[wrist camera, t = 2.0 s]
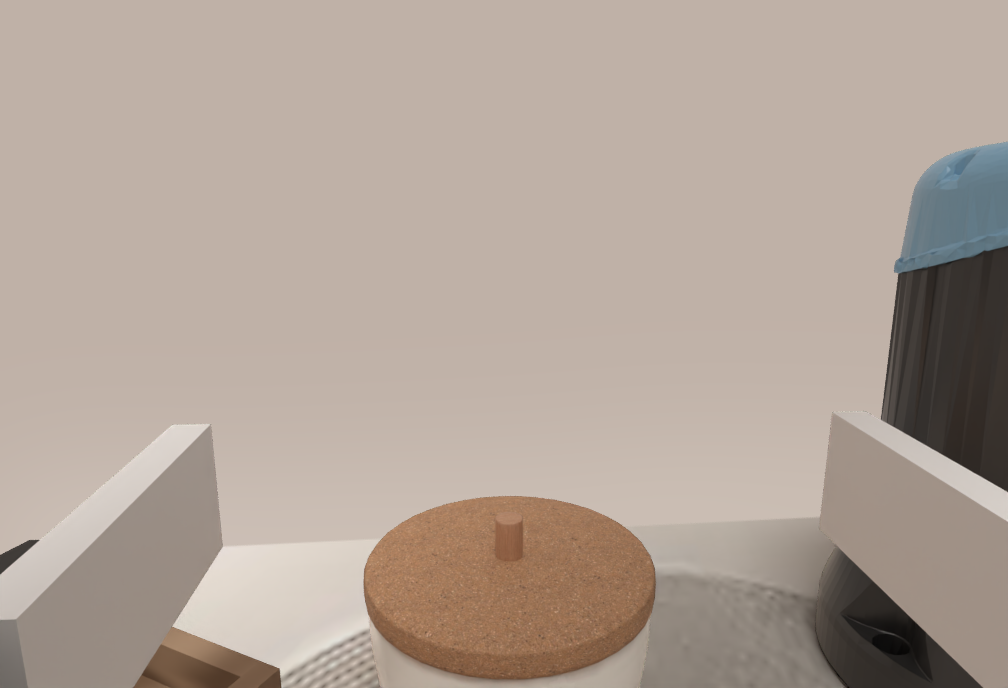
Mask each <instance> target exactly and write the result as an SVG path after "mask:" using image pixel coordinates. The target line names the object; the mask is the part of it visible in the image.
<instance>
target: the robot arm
mask: <svg viewBox="0 0 1008 688" xmlns="http://www.w3.org/2000/svg"><path fill="white" fill-rule="evenodd" d="M894 272H896V273H899V274H898V282H897V291H896V300H895V307H894V315H893V324H892V332H891V340H890V349H889V357H888V365H887V374H886V382H885V390H884V399H883V407H882V415H881V420H880V419H879V418H877V417H875V416H873V415H872V414H870V413H868V412H866V411H863V412H832V418H831V427H830V436H829V445H828V455H827V463H826V472H825V480H824V489H823V499H822V508H821V516H820V525H819V529H820V530H821V531H822V532H823V533H824V534H825V535H826V536H827V537H828V538H829V539H830V540H831V541H832V542H833V543H834V544H835V545H836V547H835V549H834V551H833V552H832V554H831V556H830V558H829V560H828V562H827V563H826V565H825V567H824V570H823V572H822V576H821V579H820V584H819V592H818V600H817V609H816V619H815V626H816V633H817V637H818V640H819V643H820V646H821V648H822V650H823V652H824V654H825V656H826V657H827V659H828V661H829V662H830V664H831V665H832V667H833V668H834V670H835V671H836V672H837V673H838V675H839V676H840V677H841V678H842V679H843V681H844V682H845V683H846V684H847V685H848V686H849V687H850V688H1008V142H1003V143H997V144H991V145H986V146H981V147H975V148H971V149H966V150H962V151H958V152H955V153H953V154H950V155H947V156H945V157H943V158H942V159H940V160H938V161H937V162H935V163H934V164H933V165H932V166H930V167H929V168H928V169H927V170H926V171H925V173H924V174H923V175H922V176H921V178H920V179H919V181H918V183H917V184H916V186H915V189H914V193H913V196H912V201H911V206H910V211H909V216H908V221H907V226H906V232H905V237H904V242H903V247H902V252H901V257H900V258H899V259H898V260H896V262H895V267H894ZM222 547H223V544H222V534H221V524H220V513H219V502H218V492H217V482H216V472H215V462H214V451H213V440H212V430H211V424H190V425H189V424H188V425H172V426H171V427H169V428H168V429H167V430H166V431H165V432H164V433H162V434H161V435H160V436H159V437H158V438H157V439H156V440H154V441H153V442H152V443H151V444H150V445H149V446H148V447H146V448H145V449H144V450H143V451H142V452H141V453H140V454H138V455H137V456H136V457H135V458H134V459H133V460H132V461H130V462H129V463H128V464H127V465H126V466H125V467H123V468H122V469H121V470H120V471H119V472H118V473H116V474H115V475H114V476H113V477H112V478H111V479H110V480H108V481H107V482H106V483H105V484H104V485H103V486H102V487H100V488H99V489H98V490H97V491H96V492H95V493H93V494H92V495H91V496H90V497H89V498H88V499H87V500H85V501H84V502H83V503H82V504H81V505H80V506H79V507H77V508H76V509H75V510H74V511H73V512H72V513H70V514H69V515H68V516H67V517H66V518H65V519H64V520H62V521H61V522H60V523H59V524H58V525H57V526H56V527H54V528H53V529H52V530H51V531H50V532H49V533H47V534H46V535H45V536H44V537H43V538H42V539H41V540H29V541H27V542H25V543H23V544H21V545H19V546H17V547H15V548H13V549H11V550H9V551H7V552H5V553H3V554H2V555H0V688H133V687H134V686H135V684H136V682H137V681H138V679H139V678H140V676H141V675H142V673H143V671H144V670H145V668H146V667H147V665H148V664H149V662H150V660H151V659H152V657H153V656H154V654H155V653H156V651H157V649H158V648H159V646H160V645H161V643H162V641H163V640H164V638H165V637H166V635H167V634H168V632H169V630H170V629H171V627H172V626H173V624H174V623H175V621H176V619H177V618H178V616H179V615H180V613H181V612H182V610H183V608H184V607H185V605H186V604H187V602H188V600H189V599H190V597H191V596H192V594H193V593H194V591H195V589H196V588H197V586H198V585H199V583H200V582H201V580H202V578H203V577H204V575H205V574H206V572H207V571H208V569H209V567H210V566H211V564H212V563H213V561H214V559H215V558H216V556H217V555H218V553H219V552H220V550H221V548H222Z"/></svg>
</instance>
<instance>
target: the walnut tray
mask: <svg viewBox="0 0 1008 688" xmlns="http://www.w3.org/2000/svg"><path fill="white" fill-rule="evenodd" d="M133 688H281V679H280V669H279V668H277V667H274V666H271V665H269V664H266V663H264V662H261V661H259V660H256V659H253V658H251V657H248V656H246V655H243V654H241V653H238V652H235V651H233V650H230V649H228V648H225V647H223V646H220V645H217V644H215V643H212V642H210V641H207V640H205V639H202V638H199V637H197V636H194V635H192V634H189V633H187V632H184V631H181V630H179V629H176V628H174V627H171V629H170V630H169V632H168V634H167V635H166V637H165V638H164V640H163V641H162V643H161V645H160V646H159V648H158V649H157V651H156V653H155V654H154V656H153V657H152V659H151V660H150V662H149V664H148V665H147V667H146V668H145V670H144V671H143V673H142V675H141V676H140V678H139V679H138V681H137V682H136V684H135V686H134V687H133Z"/></svg>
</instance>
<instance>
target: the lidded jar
mask: <svg viewBox="0 0 1008 688" xmlns="http://www.w3.org/2000/svg"><path fill="white" fill-rule="evenodd" d="M655 586H656V579H655V568H654V565H653V562H652V559H651V557H650V555H649V553H648V552H647V550H646V549H645V547H644V546H643V544H642V543H641V541H639V540H638V539H637V538H636V537H635V536H634V535H633V534H632V533H631V532H630V531H629V530H627V529H626V528H625V527H623V526H622V525H621V524H619V523H618V522H616V521H614V520H612V519H610V518H608V517H606V516H604V515H602V514H600V513H597V512H595V511H593V510H591V509H588V508H584V507H581V506H578V505H574V504H571V503H566V502H562V501H557V500H551V499H544V498H536V497H522V496H499V497H484V498H476V499H470V500H463V501H458V502H454V503H450V504H446V505H442V506H439V507H436V508H433V509H430V510H427V511H425V512H423V513H420V514H417V515H415V516H413V517H411V518H410V519H408V520H406V521H404V522H402V523H401V524H399V525H398V526H397V527H395V528H394V529H393V530H391V531H390V532H388V533H387V534H386V535H385V536H384V537H383V538H382V539H381V540H380V542H379V543H378V544H377V545H376V547H375V548H374V550H373V551H372V553H371V554H370V556H369V558H368V560H367V563H366V566H365V569H364V596H365V602H366V606H367V611H368V615H369V625H370V635H371V644H372V651H373V655H374V660H375V665H376V669H377V674H378V679H379V683H380V687H381V688H639V687H640V684H641V679H642V674H643V669H644V665H645V660H646V655H647V650H648V642H649V632H650V616H651V613H652V608H653V603H654V598H655Z"/></svg>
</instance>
